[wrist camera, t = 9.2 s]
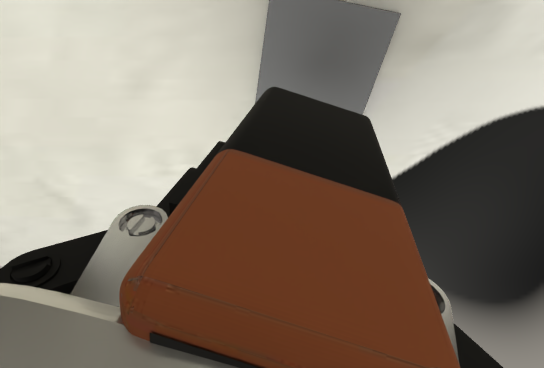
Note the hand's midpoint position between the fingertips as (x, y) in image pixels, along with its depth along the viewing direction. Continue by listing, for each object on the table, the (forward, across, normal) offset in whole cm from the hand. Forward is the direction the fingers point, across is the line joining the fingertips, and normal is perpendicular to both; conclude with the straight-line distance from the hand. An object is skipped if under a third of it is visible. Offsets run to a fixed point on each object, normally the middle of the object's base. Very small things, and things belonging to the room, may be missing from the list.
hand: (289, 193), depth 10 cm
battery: (+2, 0, 0) cm, 2 cm away
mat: (+19, 0, 0) cm, 19 cm away
